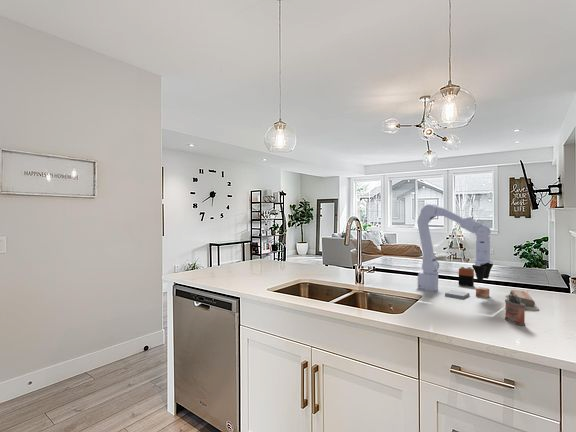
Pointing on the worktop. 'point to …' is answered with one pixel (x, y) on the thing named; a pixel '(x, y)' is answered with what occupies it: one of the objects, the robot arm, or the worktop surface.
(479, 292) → the terracotta cube
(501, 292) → the worktop surface
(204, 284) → the worktop surface
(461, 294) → the slate slab
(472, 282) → the battery
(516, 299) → the red snack pouch
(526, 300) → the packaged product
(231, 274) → the worktop surface
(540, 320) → the worktop surface
